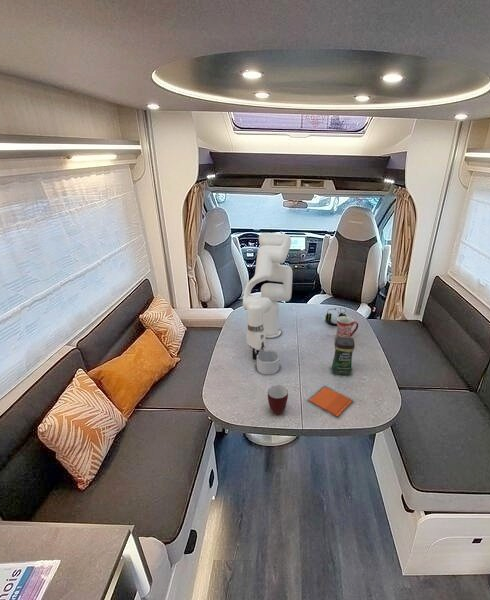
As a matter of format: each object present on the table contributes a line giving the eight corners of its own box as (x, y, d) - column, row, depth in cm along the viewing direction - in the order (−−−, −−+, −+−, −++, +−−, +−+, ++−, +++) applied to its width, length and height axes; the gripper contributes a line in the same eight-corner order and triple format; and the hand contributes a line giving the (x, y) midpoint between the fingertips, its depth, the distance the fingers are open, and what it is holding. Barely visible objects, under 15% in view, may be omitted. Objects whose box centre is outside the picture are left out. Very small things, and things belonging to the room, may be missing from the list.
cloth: (309, 400, 135) (309, 399, 134) (325, 387, 143) (325, 386, 143) (337, 416, 126) (337, 415, 126) (352, 401, 135) (352, 400, 135)
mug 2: (336, 344, 178) (339, 323, 173) (333, 336, 187) (335, 316, 181) (358, 344, 179) (361, 323, 174) (354, 336, 188) (356, 316, 182)
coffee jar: (332, 375, 152) (335, 342, 144) (331, 365, 159) (334, 333, 152) (352, 376, 151) (356, 343, 144) (350, 366, 158) (354, 335, 151)
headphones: (346, 302, 210) (354, 315, 192) (345, 315, 214) (353, 329, 195) (323, 302, 208) (329, 316, 190) (322, 315, 212) (328, 329, 194)
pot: (252, 368, 155) (251, 357, 152) (267, 358, 163) (267, 348, 161) (269, 377, 149) (269, 366, 146) (283, 366, 157) (284, 355, 154)
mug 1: (266, 400, 134) (267, 381, 130) (285, 399, 135) (286, 381, 131) (268, 419, 124) (268, 399, 120) (288, 417, 125) (289, 398, 121)
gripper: (271, 329, 151) (271, 361, 158) (250, 319, 160) (251, 350, 167) (260, 334, 146) (260, 367, 153) (239, 324, 155) (240, 356, 162)
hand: (255, 358), depth 160 cm, fingers closed
